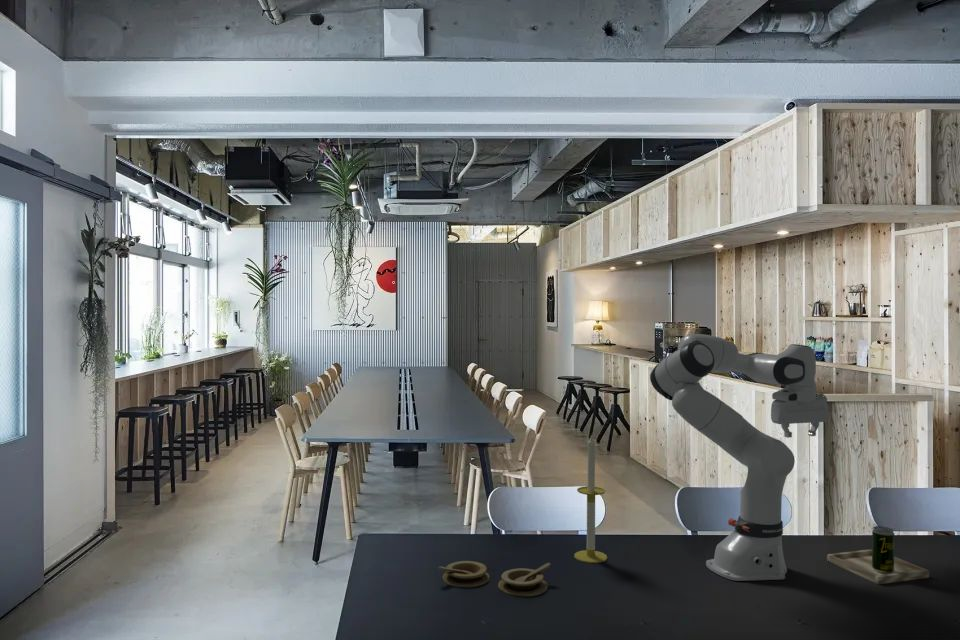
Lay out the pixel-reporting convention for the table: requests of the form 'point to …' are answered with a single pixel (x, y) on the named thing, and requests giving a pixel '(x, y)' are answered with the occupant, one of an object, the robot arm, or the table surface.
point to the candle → (591, 511)
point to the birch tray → (863, 567)
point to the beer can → (883, 549)
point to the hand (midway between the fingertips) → (800, 436)
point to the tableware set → (516, 578)
